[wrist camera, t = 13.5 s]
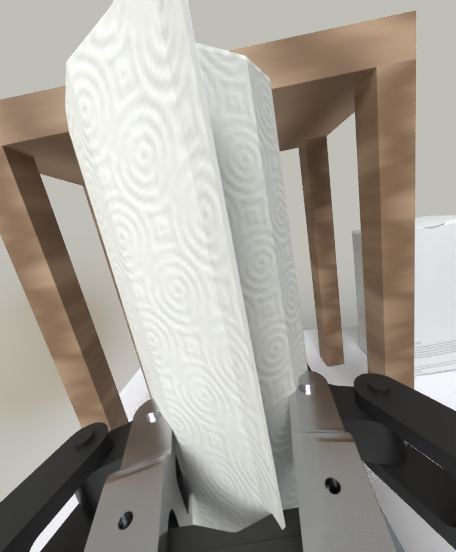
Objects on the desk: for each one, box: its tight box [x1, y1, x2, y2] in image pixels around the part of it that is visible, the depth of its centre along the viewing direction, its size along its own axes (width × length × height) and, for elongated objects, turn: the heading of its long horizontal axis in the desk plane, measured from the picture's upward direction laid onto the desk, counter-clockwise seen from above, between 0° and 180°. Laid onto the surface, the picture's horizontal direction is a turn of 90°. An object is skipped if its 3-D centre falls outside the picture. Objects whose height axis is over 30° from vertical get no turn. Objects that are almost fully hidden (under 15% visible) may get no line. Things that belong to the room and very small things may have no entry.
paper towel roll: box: [65, 0, 308, 532], centre depth 9 cm, size 7×6×21 cm
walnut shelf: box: [0, 11, 416, 444], centre depth 20 cm, size 24×12×27 cm, turn 91°
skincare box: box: [352, 215, 456, 376], centre depth 24 cm, size 8×7×16 cm
